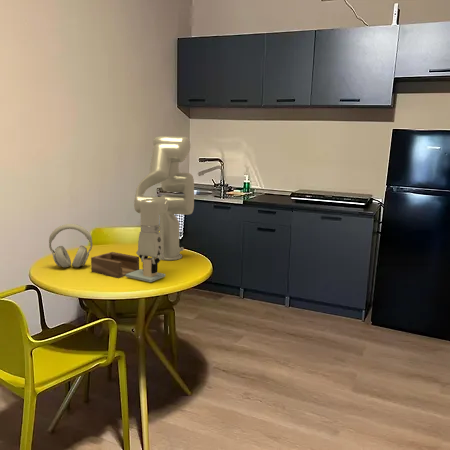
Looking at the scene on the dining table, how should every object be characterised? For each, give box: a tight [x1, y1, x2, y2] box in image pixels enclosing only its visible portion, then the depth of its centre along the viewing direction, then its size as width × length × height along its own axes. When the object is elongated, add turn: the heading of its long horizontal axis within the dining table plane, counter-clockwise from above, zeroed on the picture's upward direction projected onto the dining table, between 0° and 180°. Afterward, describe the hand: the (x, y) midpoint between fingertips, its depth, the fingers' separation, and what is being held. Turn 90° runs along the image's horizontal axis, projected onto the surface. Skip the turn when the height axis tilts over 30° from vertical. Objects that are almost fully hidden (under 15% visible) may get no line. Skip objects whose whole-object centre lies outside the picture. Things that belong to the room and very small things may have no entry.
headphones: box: [48, 223, 93, 269], centre depth 206 cm, size 18×10×20 cm, turn 100°
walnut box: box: [90, 251, 140, 279], centre depth 202 cm, size 13×16×7 cm
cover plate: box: [124, 256, 166, 283], centre depth 193 cm, size 10×14×8 cm
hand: (150, 271), depth 192 cm, fingers closed on cover plate, 4 cm apart
